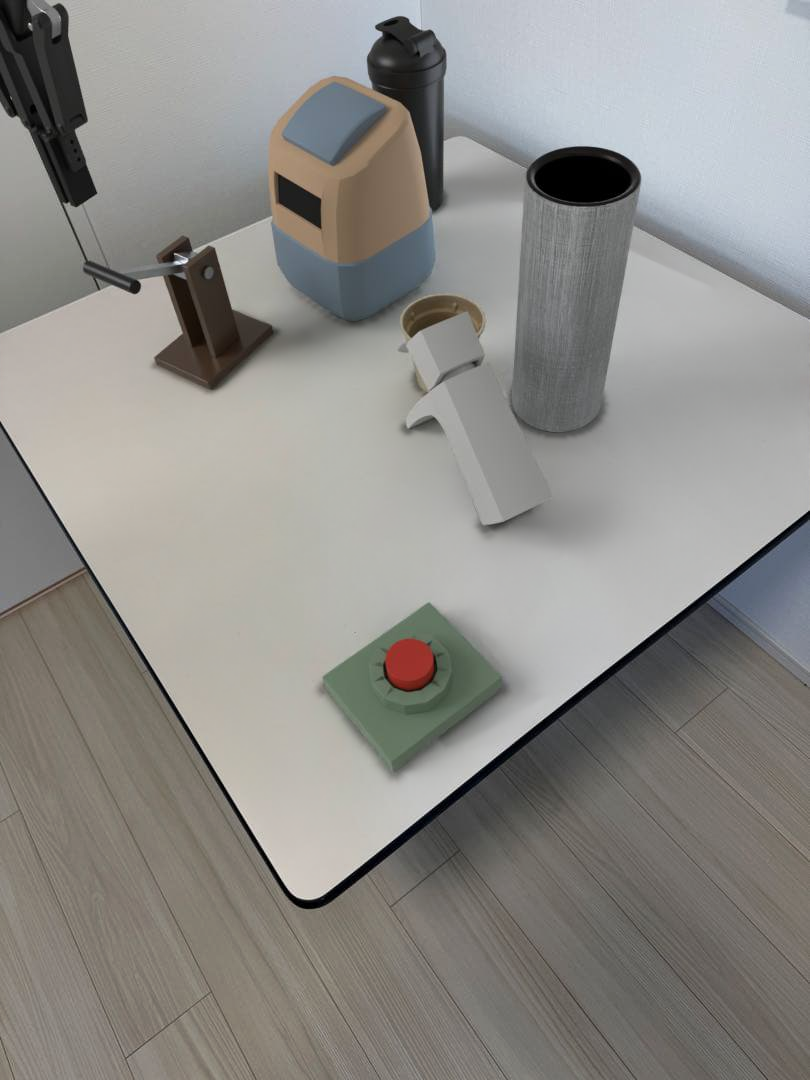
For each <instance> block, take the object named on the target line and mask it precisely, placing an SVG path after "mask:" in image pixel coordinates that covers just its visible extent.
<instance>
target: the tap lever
mask: <svg viewBox="0 0 810 1080" xmlns="http://www.w3.org/2000/svg"><path fill="white" fill-rule="evenodd" d="M198 253H199V252H197V251H194V250H193V251H188V252H180V253H174V262H168V263H161V264H159V263H154V264H147V265H141V266H134V267H126V268H119V269H112V268H110V267H107V266H104V265H102V264H100V263H98V262H94V261H92V260H86V261H84V263H83V265H82V271H83V273H84V274H86V275H87V276H89V277H92V278H94V279H97V280H99V281H102V282H104V283H105V284H106V283H107V284H108V285H111V286H113V287H116V288H118V289H121V290H122V291H126V292H128V293H130V294H132V295H137V294H139V293H140V292H141V289H142V283H141V282H140V280H144V279H145V280H146V279H151V278H152V279H153V278H157V277H163V276H165V275H171V274H174V275H176V276H178V277H181V278H183V279H186V276H185V273H184V270H183V267H182V266H183V265H184V264H185V263H186V262H188V261H189V260H190V259H192V258H193V257H194V256H195V255H197V254H198ZM186 280H187V279H186Z"/></svg>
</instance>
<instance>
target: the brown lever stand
mask: <svg viewBox="0 0 810 1080" xmlns="http://www.w3.org/2000/svg"><path fill="white" fill-rule="evenodd" d="M188 251H194V250H193V247H192V244H191V239H190V238H189V237H188V236H186V235H181V236H180V237H178V238H177V239H175V240H174V241H173V242H171V243H170V244H169V245H167V246H166V247H165V248H164V249H162V250H160V251H159V252H158V253H157V254H156V255H155V257H156V260H157V264H161V263H168V262H174V253H180V252H188ZM197 253H198V254H197V255H195V256H194V257H193V258H192V259H190V260H189V261H188V262H186V263H185V264H184V265H183V266H182V267H183V270H184V273H185V276H186V279H187V280H186V279H183V278H181V277H178V276H176V275H174V274H171V275H165V276H162V278H163V280H164V283H165V286H166V290H167V292H168V295H169V297H170V301H171V303H172V306H173V309H174V312H175V315H176V319H177V321H178V323H179V327H180V331H181V332H182V334H180V335H179V336H178V337H177V338H175V339H174V340H173V341H171V342H170V343H169V344H168V345H167V346H166V347H165V348H164V349H162V350H161V351H160V352H158V354H156V355H155V356H153V360H154V362H155V364H156V366H159V367H160V368H162V369H164V370H166V371H169V372H171V373H173V374H176V375H177V376H179V377H182V378H184V379H186V380H189V381H191V382H193V383H194V384H197V385H198V386H201V387H203V388H206V389H208V390H212V389H213V388H214V387H215V386H217V385H218V384H219V383H220V382H221V381H222V380H223V379H224V378H225V377H227V376H228V375H230V373H231V372H232V371H233V370H234V369H236V368H237V367H238V366H239V365H240V364H242V362H243V361H244V360H246V359H247V358H248V357H249V356H250V355H251V354H252V353H253V352H255V350H257V349H258V348H260V346H261V345H263V343H264V342H265V341H267V340H269V338H270V337H271V336H272V335H273V334H274V329H273V325H271V324H269V323H266V322H264V321H262V320H259V319H256V318H254V317H253V316H249V315H247V314H244V313H242V312H240V311H237V310H235V309H233V307H232V304H231V300H230V297H229V294H228V289H227V286H226V283H225V279H224V275H223V272H222V268H221V265H220V261H219V258H218V257H219V256H218V254H217V250H216V247H214V246H212V245H207V246H205V247H204V248H203V249H202V250H201V251H199V252H197Z"/></svg>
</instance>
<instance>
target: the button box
mask: <svg viewBox="0 0 810 1080" xmlns="http://www.w3.org/2000/svg"><path fill="white" fill-rule="evenodd" d="M409 638H410V639H417V640H420V641H422V642H424V643H425V644H427V645H428V646H429V648H430V649H431V651H432V653H433V660H434V673H433V676H432V678H431V680H430V681H429V682H428V683H427V684H426V685H425V686H423V687H421V688H419V689H416V690H404V689H401V688H398V687H397V686H395V685H394V684H393V683H392V682H391V681H390V679H389V677H388V674H387V668H386V661H385V660H386V654H387V652H388V650H389V649H390V647H391V646H392V645H393V644H395V643H396V642H398V641H400V640H403V639H409ZM321 678H322V681H323V684H324V685H323V686H324V688H325V690H326V691H327V692H328V693H329V695H330V696H331V697H332V698H333V700H334V701H335V702H336V703H337V704H338V706H339V707H340V708H341V710H342V711H343V712H344V713H345V715H346V716H348V718H349V719H350V720H351V722H352V723H353V724H354V725H355V727H356V728H357V729H358V731H359V732H360V733H361V734H362V736H363V737H364V738H365V739H366V740H367V742H368V743H369V744H370V746H371V747H372V748H373V749H374V750H375V752H376V753H377V754H378V755H379V756H380V758H381V759H382V760H383V761H384V763H385V764H386V765H387V766H388V768H389V769H390V771H392V772H393V773H394V772H395V771H397V770H398V769H399V768H401V767H402V766H403V765H404V764H406V763H407V762H408V761H409V760H411V759H412V758H413V757H415V756H416V755H417V754H419V753H420V752H421V751H423V750H424V749H425V748H427V747H428V746H429V745H431V744H432V743H433V742H434V741H435V740H437V739H438V738H439V737H440V736H442V735H443V734H444V733H446V732H447V731H448V730H450V729H451V728H453V727H454V726H455V725H457V724H458V723H459V722H460V721H461V720H463V719H464V718H465V717H466V716H468V715H469V714H470V713H471V712H473V711H474V710H475V709H477V708H478V707H479V706H481V705H483V703H485V702H486V701H487V700H488V699H490V698H491V697H492V696H494V694H496V693H497V692H499V691H500V690H501V689H502V682H503V676H502V675H501V674H500V673H499V672H498V671H497V670H496V669H495V668H494V667H493V666H492V665H491V664H490V663H489V661H487V660H486V659H485V657H483V655H482V654H480V652H479V651H478V650H477V649H476V648H474V646H473V645H472V644H471V643H470V642H469V641H468V640H467V639H466V638H465V637H464V636H463V634H461V633H460V632H459V631H458V630H457V628H455V627H454V626H453V625H452V624H451V623H450V622H449V621H448V620H447V619H446V618H445V616H443V614H442V613H441V612H439V610H438V609H437V608H436V607H435V606H434V605H433V604H432V603H431V602H430V601H428V602H427V603H425V604H424V605H422V606H421V607H420V608H418V609H416V610H415V611H414V612H413V613H411V614H409V615H408V616H407V617H405V618H404V619H402V620H401V621H400V622H398V623H397V624H396V625H393V626H392V627H391V628H390V629H389V630H387V631H385V632H384V633H382V634H381V635H380V636H378V637H377V638H375V639H373V640H372V641H371V642H369V643H368V644H367V645H365V646H363V648H361V649H359V650H358V651H357V652H356V653H354V654H352V655H351V656H349V657H348V658H347V659H346V660H344V661H342V662H341V663H339V664H338V665H337V666H335V667H334V668H332V669H331V670H330V671H328V672H327V673H325V674H324V675H323V676H322V677H321Z"/></svg>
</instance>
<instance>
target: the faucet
mask: <svg viewBox="0 0 810 1080" xmlns="http://www.w3.org/2000/svg"><path fill="white" fill-rule="evenodd" d="M397 351H398V352H399V353H401V354H407V353H408V354H409V355H410V357H411V358H412V362H413V361H414V363H415V365H416V367H417V369H418V371H419V373H420V375H421V377H422V379H423V381H424V383H425V385H426V387H427V389H428V391H430V390H431V391H430V392H429V393H427V392H426V394H425V395H423V396H422V397H421V398H420V399H419V400H418V401H417V402H416V403H415V404H414V406H413V407H412V408H411V409H410V411H409V413H408V414H407V416H406V417H405V425H406V428H407V429H408V430H409V429H412V428H413V427H416V426H419V425H421V424H422V423H425V422H427V421H429V420H431V419H436V420H437V422H438V423H439V425H440V426H441V428H442V430H443V431H444V434H445V436H446V438H447V442H448V443H449V445H450V448H451V450H452V454H453V456H454V459H455V460H456V463H457V465H458V468H459V471H460V473H461V476H462V478H463V480H464V483H465V486H466V488H467V490H468V493H469V495H470V498H471V501H472V503H473V505H474V508H475V510H476V513H477V515H478V517H479V520H480V522H481V525H482V526H489V525H494V524H500V523H503V522H506V521H508V520H510V519H512V518H515V517H516V516H518V515H521V514H523V513H524V512H527V511H529V510H531V509H533V508H535V507H537V506H539V505H540V504H543V503H545V502H546V501H548V500H549V501H550V499H552V498H554V497H555V496H554V495H553V492H552V491H551V488H550V487H549V486H550V485H549V484H548V482H547V480H546V478H545V476H544V473H543V472H542V470H541V468H540V466H539V464H538V461H537V460H536V457H535V456H534V453H533V451H532V449H531V447H530V445H529V443H528V442H527V438H526V437H525V435H524V433H523V431H522V429H521V427H520V425H519V422H518V421H517V419H516V417H515V415H514V413H513V410H512V409H511V406H510V404H509V402H508V401H507V399H506V396H505V394H504V392H503V390H502V388H501V386H500V384H499V382H498V380H497V378H496V376H495V373H494V372H493V370H492V368H491V365H490V364H489V362H485V363H483V361H484V359H485V356H486V354H485V352H484V349H483V347H482V344H481V341H480V338H479V339H478V336H477V334H476V331H475V328H474V326H473V323H472V321H471V318H470V316H469V313H468V311H467V312H464V313H462V314H459V315H457V316H454V317H452V318H449V319H447V320H444V321H442V322H439V323H437V324H435V325H432V326H430V327H428V328H425V329H423V330H421V331H419V332H418V333H417V334H416V335H415V336H414V337H413V338H411V339H410V341H409V342H407V341H406V342H403V343H402V344H401V345H400V346H399V347H398V349H397ZM414 363H413V364H414Z"/></svg>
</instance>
